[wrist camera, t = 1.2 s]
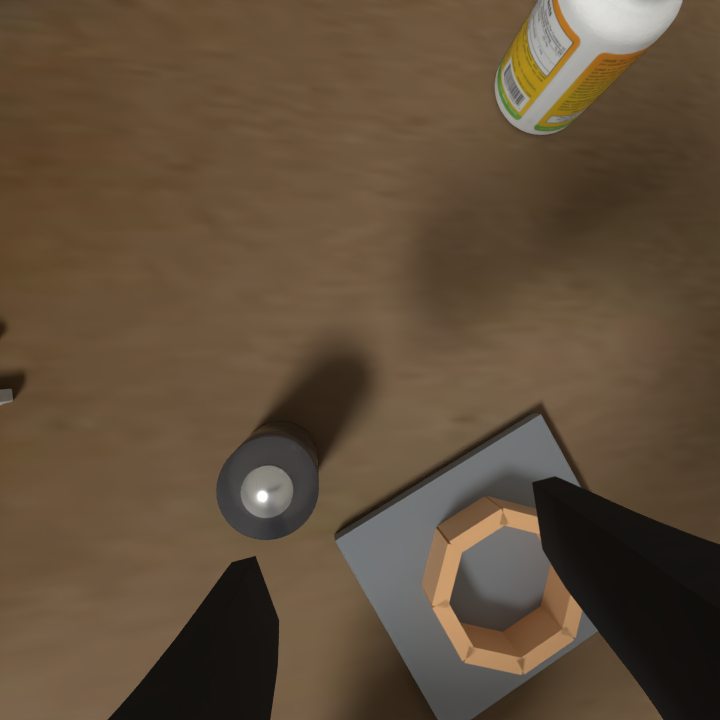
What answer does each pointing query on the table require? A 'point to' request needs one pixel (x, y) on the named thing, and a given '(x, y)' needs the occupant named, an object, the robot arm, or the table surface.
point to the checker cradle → (470, 573)
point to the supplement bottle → (574, 57)
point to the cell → (270, 482)
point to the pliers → (6, 396)
